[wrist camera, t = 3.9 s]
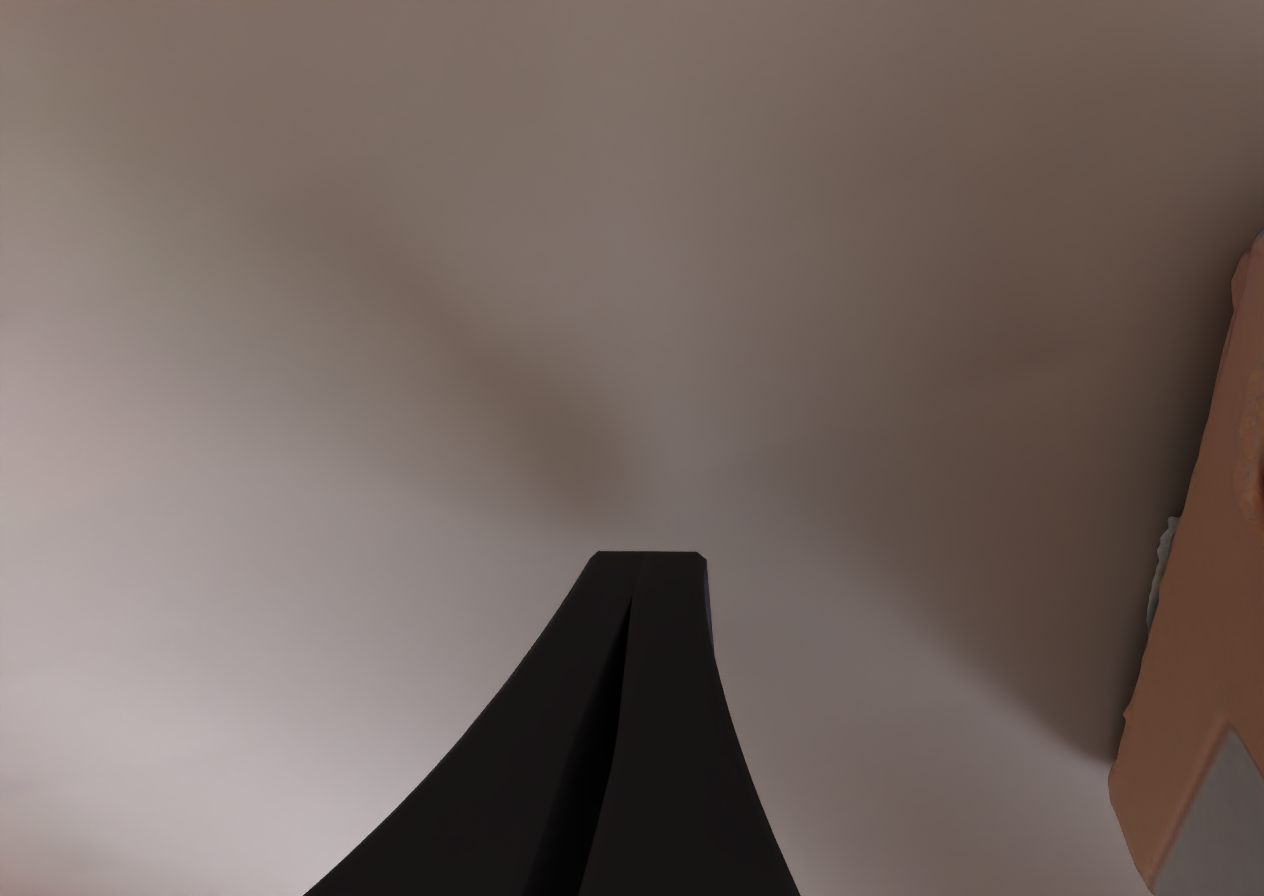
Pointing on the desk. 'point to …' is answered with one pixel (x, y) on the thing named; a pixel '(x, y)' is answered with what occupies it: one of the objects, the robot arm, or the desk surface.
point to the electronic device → (1207, 649)
